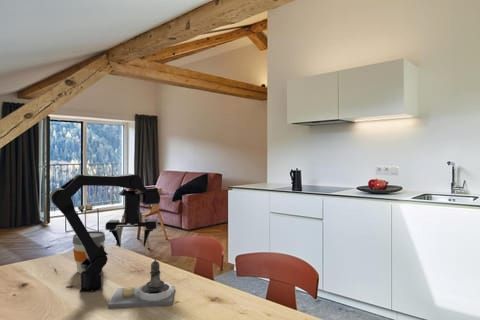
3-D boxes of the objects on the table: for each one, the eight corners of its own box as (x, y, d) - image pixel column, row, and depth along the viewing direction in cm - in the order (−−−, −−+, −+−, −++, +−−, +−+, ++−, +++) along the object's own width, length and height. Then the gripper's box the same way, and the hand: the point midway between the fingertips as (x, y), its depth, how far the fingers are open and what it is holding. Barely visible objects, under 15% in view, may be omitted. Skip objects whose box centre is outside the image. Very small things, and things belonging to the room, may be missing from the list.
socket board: (107, 307, 108) (107, 297, 108) (117, 291, 121) (117, 282, 121) (171, 305, 110) (171, 295, 110) (174, 289, 123) (174, 280, 123)
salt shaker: (144, 297, 113) (144, 262, 112) (148, 290, 119) (148, 256, 118) (162, 297, 113) (162, 261, 113) (165, 289, 119) (165, 256, 119)
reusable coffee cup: (111, 268, 144) (111, 233, 144) (84, 277, 133) (84, 239, 133) (93, 263, 151) (93, 229, 150) (66, 271, 140) (66, 235, 140)
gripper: (159, 203, 140) (159, 240, 140) (112, 203, 138) (112, 241, 138) (155, 207, 129) (155, 248, 129) (105, 208, 127) (105, 249, 127)
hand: (132, 246), depth 131 cm, fingers open, 9 cm apart
